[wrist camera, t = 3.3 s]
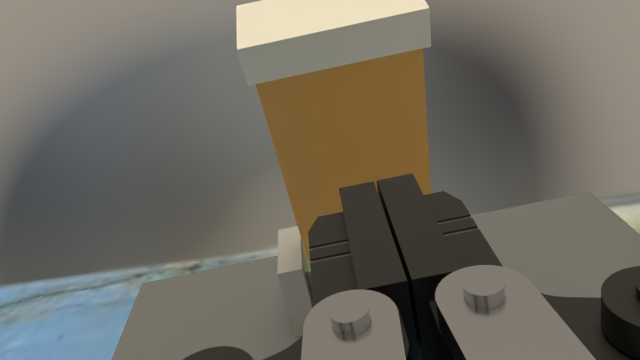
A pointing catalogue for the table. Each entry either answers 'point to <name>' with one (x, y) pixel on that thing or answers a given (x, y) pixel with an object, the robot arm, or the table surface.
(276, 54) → the rocker lever
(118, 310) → the table surface
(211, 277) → the switch box
